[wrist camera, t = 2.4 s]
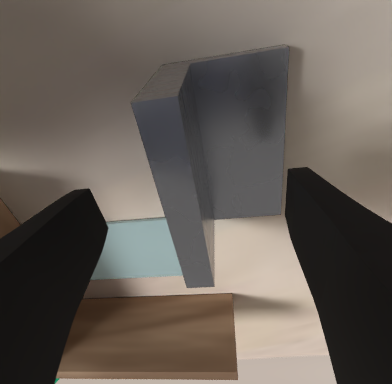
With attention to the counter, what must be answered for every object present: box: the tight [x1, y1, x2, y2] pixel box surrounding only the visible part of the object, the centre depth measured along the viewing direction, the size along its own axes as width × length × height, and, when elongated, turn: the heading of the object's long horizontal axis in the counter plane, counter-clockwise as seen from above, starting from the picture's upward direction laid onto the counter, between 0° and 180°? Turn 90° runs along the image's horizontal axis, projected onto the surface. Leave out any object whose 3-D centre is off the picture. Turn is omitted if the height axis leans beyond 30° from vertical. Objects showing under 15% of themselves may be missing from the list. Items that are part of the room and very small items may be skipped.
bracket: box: [131, 45, 289, 288], centre depth 10 cm, size 8×5×5 cm, turn 9°
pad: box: [90, 217, 183, 280], centre depth 17 cm, size 9×5×1 cm, turn 99°
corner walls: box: [0, 199, 238, 380], centre depth 15 cm, size 14×14×5 cm
